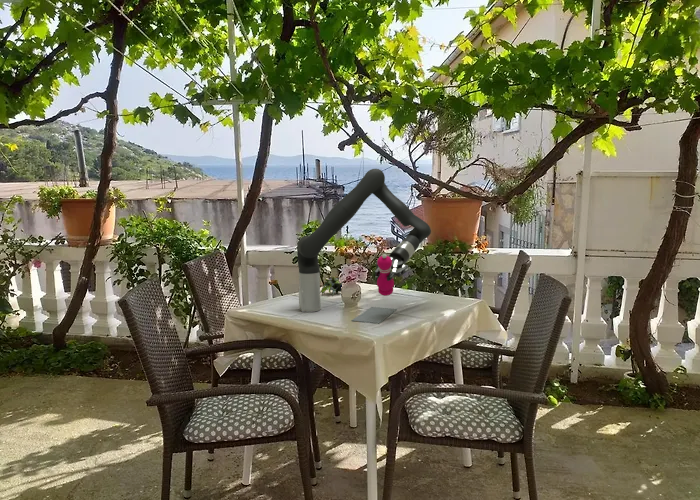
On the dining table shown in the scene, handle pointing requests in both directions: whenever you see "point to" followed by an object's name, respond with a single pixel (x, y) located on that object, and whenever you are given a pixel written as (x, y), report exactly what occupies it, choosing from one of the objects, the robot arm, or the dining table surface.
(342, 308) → the dining table surface
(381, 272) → the pepper mill
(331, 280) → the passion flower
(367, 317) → the mat
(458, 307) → the dining table surface
